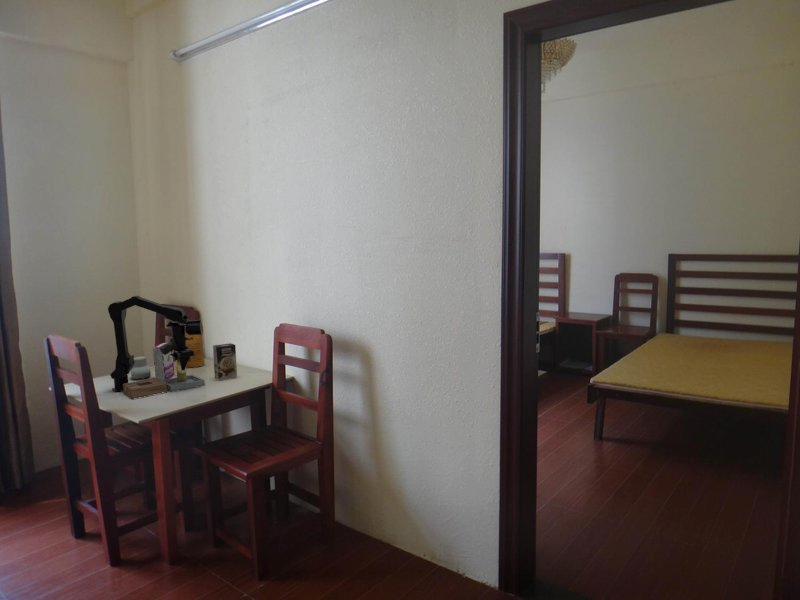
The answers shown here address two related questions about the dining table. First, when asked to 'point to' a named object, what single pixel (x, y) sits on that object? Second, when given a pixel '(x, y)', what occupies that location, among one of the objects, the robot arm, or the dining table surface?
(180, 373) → the pin
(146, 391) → the hitch block
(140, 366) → the air freshener
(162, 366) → the candy bar box
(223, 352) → the coffee box
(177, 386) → the tray
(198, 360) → the coffee package
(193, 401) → the dining table surface
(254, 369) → the dining table surface
